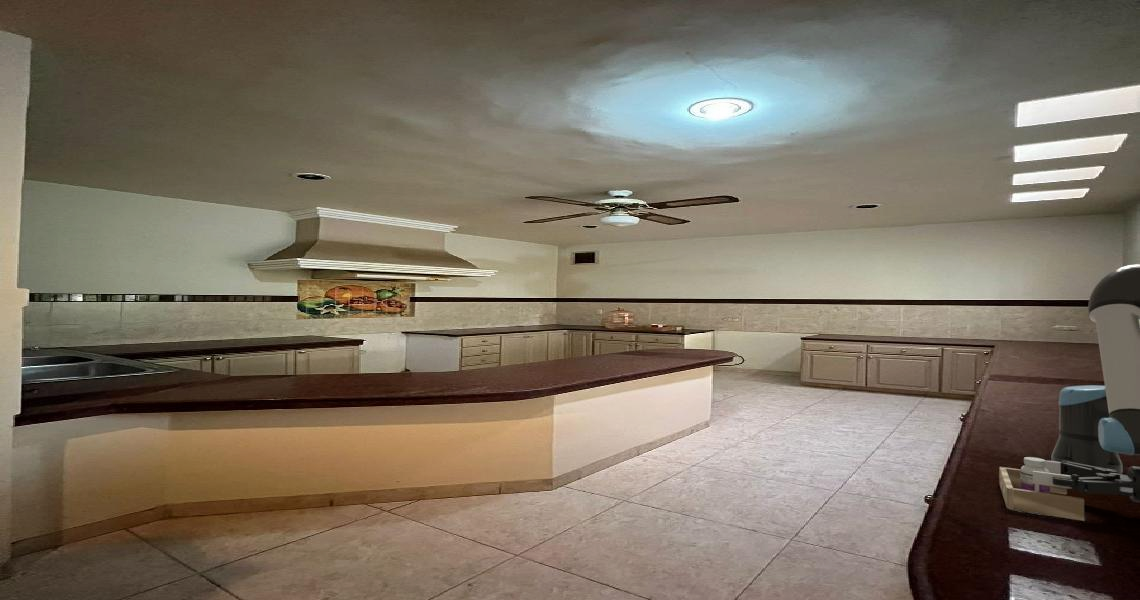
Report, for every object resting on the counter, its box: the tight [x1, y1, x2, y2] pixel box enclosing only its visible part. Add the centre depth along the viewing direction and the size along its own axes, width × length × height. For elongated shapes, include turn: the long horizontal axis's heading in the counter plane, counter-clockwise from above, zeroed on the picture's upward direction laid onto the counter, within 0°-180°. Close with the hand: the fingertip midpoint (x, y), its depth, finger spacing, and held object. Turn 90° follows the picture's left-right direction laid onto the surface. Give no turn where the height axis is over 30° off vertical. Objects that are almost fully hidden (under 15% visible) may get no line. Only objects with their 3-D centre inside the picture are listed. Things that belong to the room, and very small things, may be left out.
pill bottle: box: [1020, 456, 1051, 494], centre depth 134 cm, size 5×5×10 cm
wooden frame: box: [998, 466, 1085, 522], centre depth 133 cm, size 22×13×4 cm, turn 146°
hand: (1028, 470), depth 134 cm, fingers open, 13 cm apart
